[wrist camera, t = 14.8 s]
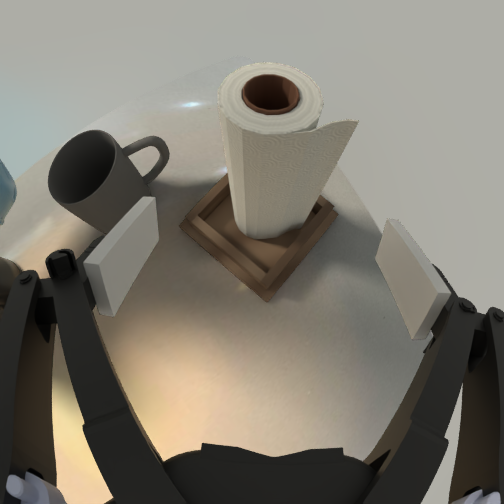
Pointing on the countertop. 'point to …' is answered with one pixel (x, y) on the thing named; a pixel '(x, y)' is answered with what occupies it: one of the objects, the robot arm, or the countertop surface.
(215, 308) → the countertop surface
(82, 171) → the mug
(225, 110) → the paper towel roll
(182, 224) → the wooden tray
